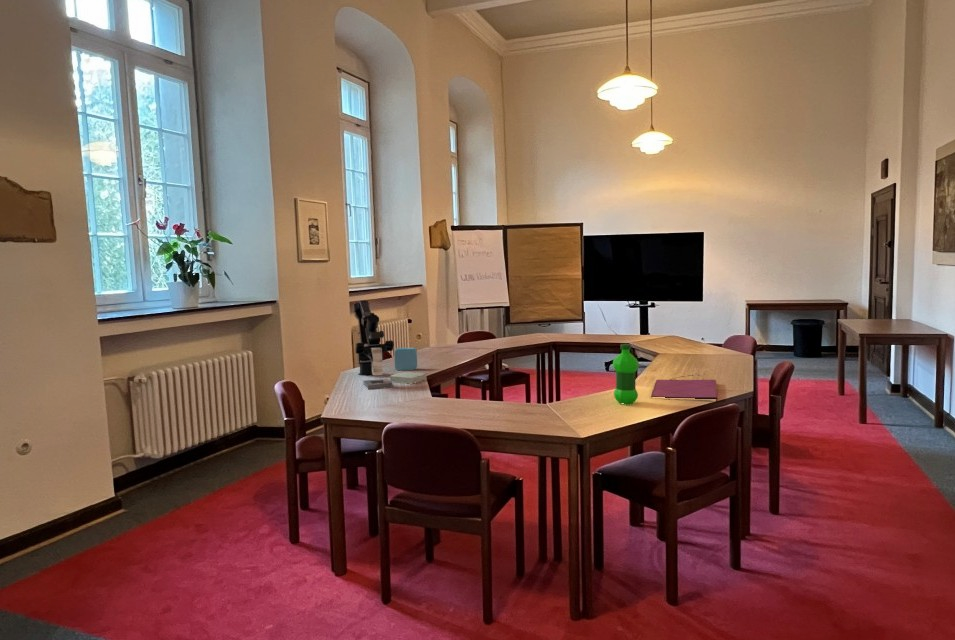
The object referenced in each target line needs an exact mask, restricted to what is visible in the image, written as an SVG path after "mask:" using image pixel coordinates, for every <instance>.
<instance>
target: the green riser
mask: <svg viewBox="0 0 955 640" xmlns="http://www.w3.org/2000/svg"><path fill="white" fill-rule="evenodd" d="M422 380H423V381H426V380H427V373H420V372H409V371H402V372H399V373H395V374H392V375H389V381H393V382H392V383H398V382H403V383H402V384H407V383H414V384H416V383H415V382H417V383H419V382H418V381H420V382H423V381H422Z"/></svg>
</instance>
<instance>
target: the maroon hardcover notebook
mask: <svg viewBox="0 0 955 640" xmlns="http://www.w3.org/2000/svg"><path fill="white" fill-rule="evenodd" d="M691 376H692V377H693V376H694V374H690V375H688V377H691ZM698 376H699V377H701V375H700V374H698ZM678 378H680V376H677V377H673V378H671V379H656V381H655V384H654V386H653V389H652V392H651V396H650V398H651V397H665V398H695V399H717V400H718V388H717V380H716V379H678ZM681 378H685V375H683V376H681Z"/></svg>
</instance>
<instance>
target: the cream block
mask: <svg viewBox="0 0 955 640" xmlns="http://www.w3.org/2000/svg"><path fill="white" fill-rule="evenodd" d="M371 354H372V357H373V361H372V374H371V375H373V376H383V374H384V369H383V368H384V366H383V361H382V348H380V347H377V348H371Z"/></svg>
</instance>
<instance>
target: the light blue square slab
mask: <svg viewBox="0 0 955 640" xmlns="http://www.w3.org/2000/svg"><path fill="white" fill-rule="evenodd" d="M417 351H418V350H417V348H416V347H396V348H395V350H394V354H393V355H394V369H395V370H396V371H415V370H416V369H417V368H418V352H417ZM414 369H415V370H414Z"/></svg>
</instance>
